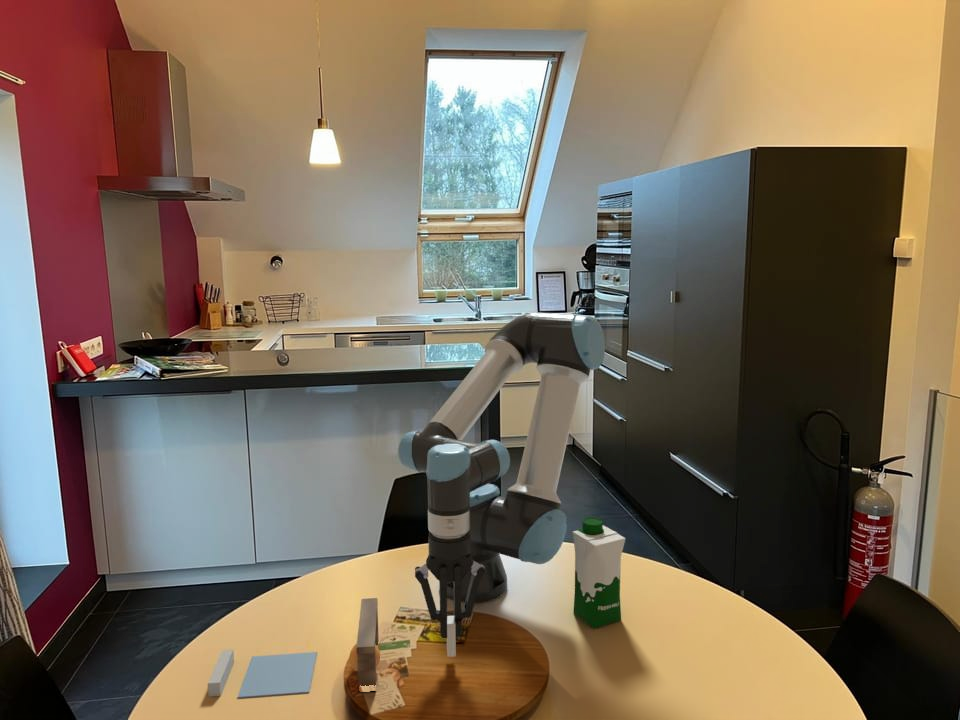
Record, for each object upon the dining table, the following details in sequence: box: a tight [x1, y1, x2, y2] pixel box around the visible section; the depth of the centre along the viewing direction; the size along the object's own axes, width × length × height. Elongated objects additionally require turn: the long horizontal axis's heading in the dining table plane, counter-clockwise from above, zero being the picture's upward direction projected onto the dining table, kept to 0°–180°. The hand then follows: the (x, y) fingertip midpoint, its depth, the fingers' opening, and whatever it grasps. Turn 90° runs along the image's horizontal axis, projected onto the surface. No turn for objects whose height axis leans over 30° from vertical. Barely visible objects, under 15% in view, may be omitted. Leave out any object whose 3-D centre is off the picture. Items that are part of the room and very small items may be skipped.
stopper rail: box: [207, 648, 235, 698], centre depth 125 cm, size 10×2×2 cm, turn 6°
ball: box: [348, 643, 381, 672], centre depth 127 cm, size 6×6×6 cm
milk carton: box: [572, 517, 626, 629], centre depth 143 cm, size 9×9×20 cm
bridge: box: [356, 597, 380, 686], centre depth 128 cm, size 3×16×9 cm, turn 6°
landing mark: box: [237, 651, 318, 699], centre depth 127 cm, size 12×12×1 cm
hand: (451, 652), depth 130 cm, fingers closed
